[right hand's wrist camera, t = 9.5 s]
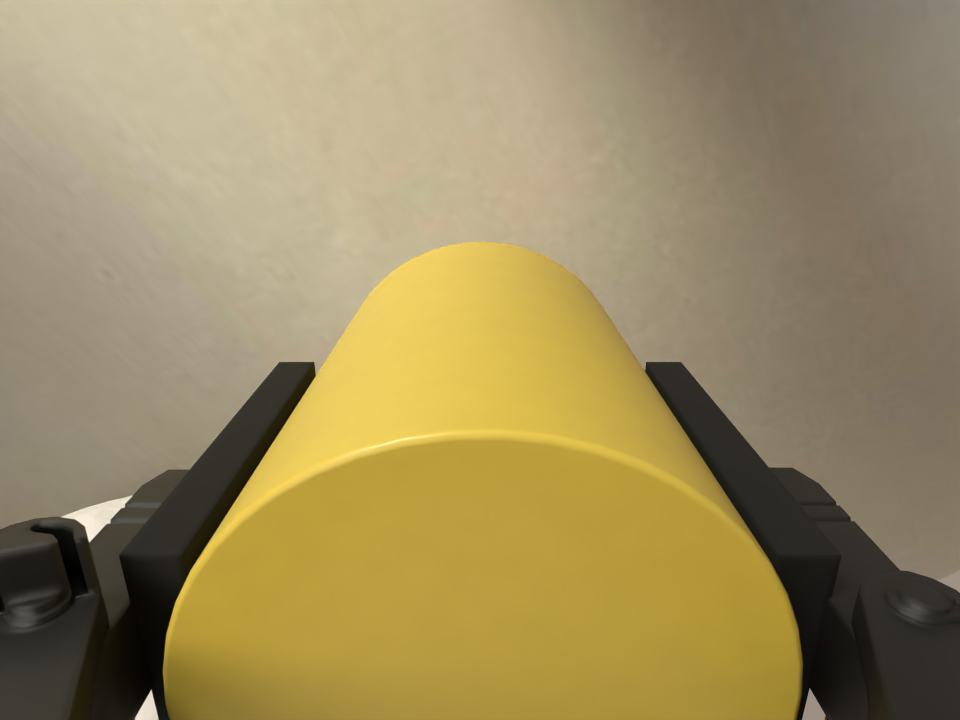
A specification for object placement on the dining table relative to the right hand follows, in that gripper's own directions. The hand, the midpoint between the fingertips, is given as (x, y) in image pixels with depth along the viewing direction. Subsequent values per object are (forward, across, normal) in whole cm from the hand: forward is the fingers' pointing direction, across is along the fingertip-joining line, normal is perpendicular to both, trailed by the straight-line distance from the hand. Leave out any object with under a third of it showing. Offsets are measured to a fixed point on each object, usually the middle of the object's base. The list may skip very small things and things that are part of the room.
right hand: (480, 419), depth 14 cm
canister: (+2, 0, 0) cm, 2 cm away
